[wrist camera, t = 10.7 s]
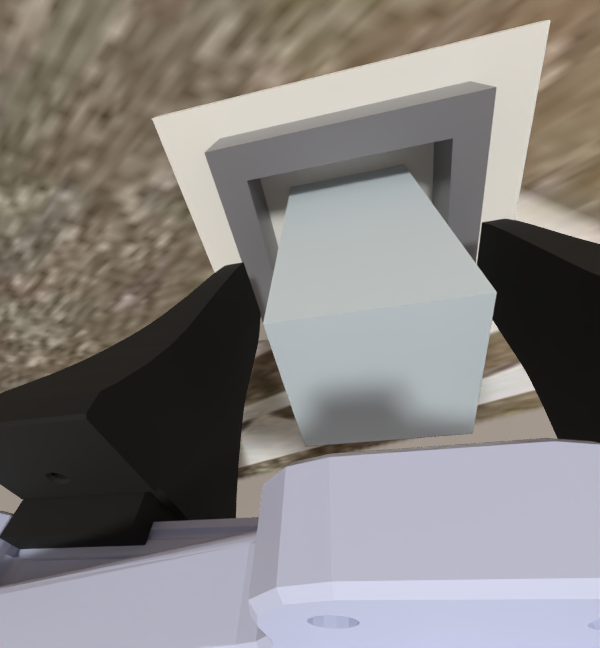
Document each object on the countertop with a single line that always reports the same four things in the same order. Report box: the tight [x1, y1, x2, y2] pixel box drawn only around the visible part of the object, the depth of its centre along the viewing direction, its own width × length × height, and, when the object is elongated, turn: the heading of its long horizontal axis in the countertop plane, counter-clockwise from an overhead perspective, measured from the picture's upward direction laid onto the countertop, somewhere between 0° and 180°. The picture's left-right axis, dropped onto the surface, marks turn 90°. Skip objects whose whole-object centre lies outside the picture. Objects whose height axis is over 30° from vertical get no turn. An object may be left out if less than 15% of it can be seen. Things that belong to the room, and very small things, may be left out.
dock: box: [152, 20, 550, 341], centre depth 13 cm, size 12×10×2 cm
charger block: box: [263, 165, 497, 446], centre depth 10 cm, size 4×4×8 cm
